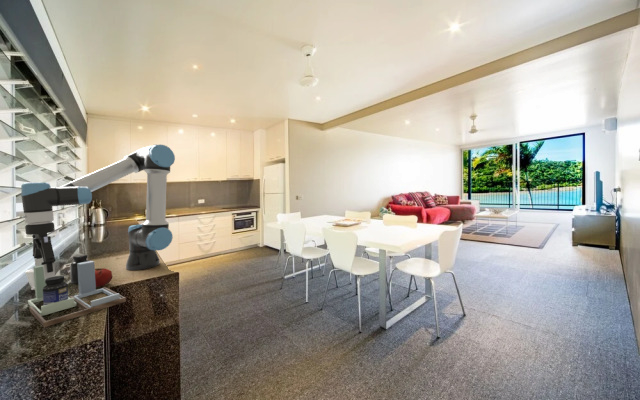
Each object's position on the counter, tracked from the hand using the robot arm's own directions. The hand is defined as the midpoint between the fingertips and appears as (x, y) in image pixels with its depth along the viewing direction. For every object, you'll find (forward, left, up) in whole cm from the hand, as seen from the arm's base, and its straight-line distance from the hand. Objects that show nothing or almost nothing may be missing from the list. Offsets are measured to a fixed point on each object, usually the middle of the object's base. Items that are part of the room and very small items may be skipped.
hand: (45, 277), depth 100 cm
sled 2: (-10, +19, -8) cm, 23 cm away
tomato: (-16, +2, -8) cm, 18 cm away
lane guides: (-4, +20, -8) cm, 22 cm away
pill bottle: (0, +16, -8) cm, 18 cm away
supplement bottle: (-13, -14, -8) cm, 21 cm away
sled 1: (+1, +9, -8) cm, 12 cm away
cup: (-1, -21, -8) cm, 23 cm away
